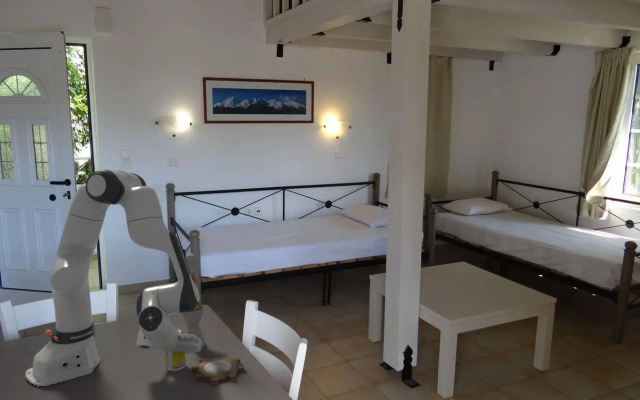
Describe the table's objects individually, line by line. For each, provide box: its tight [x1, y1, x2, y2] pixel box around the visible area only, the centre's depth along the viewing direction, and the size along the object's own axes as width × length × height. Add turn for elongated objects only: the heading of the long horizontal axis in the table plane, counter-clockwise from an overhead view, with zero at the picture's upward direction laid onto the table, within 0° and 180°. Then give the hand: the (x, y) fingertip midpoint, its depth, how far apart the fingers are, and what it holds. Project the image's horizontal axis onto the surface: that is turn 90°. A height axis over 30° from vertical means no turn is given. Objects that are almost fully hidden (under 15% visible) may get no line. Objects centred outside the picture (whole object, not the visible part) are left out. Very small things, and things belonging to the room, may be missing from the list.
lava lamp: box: [181, 253, 206, 349], centre depth 185 cm, size 9×9×35 cm
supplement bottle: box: [164, 328, 187, 372], centre depth 170 cm, size 7×7×13 cm
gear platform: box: [190, 354, 246, 386], centre depth 168 cm, size 18×18×2 cm
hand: (175, 351), depth 170 cm, fingers open, 8 cm apart
